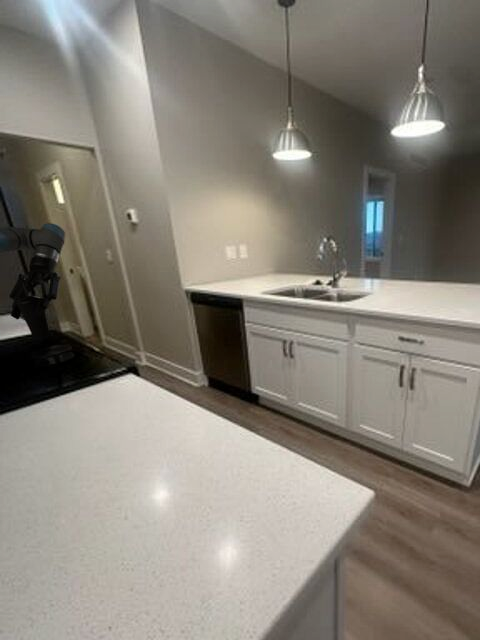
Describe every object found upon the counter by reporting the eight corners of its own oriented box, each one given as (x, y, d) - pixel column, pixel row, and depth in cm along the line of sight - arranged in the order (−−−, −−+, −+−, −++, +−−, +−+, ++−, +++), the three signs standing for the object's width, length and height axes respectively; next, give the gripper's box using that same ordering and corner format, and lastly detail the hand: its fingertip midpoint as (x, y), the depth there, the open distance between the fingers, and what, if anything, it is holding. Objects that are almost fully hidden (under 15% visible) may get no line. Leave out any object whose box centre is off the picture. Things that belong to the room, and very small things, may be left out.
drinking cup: (39, 334, 126) (20, 279, 119) (59, 333, 126) (41, 278, 118) (23, 341, 119) (2, 283, 112) (44, 340, 119) (24, 282, 111)
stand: (26, 367, 108) (21, 356, 106) (57, 354, 117) (54, 343, 116) (52, 370, 105) (48, 358, 103) (83, 356, 114) (79, 345, 113)
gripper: (78, 267, 128) (63, 321, 119) (25, 269, 129) (6, 323, 120) (65, 253, 121) (48, 310, 112) (8, 256, 122) (-13, 312, 113)
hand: (26, 316), depth 116 cm, fingers closed on drinking cup, 8 cm apart
